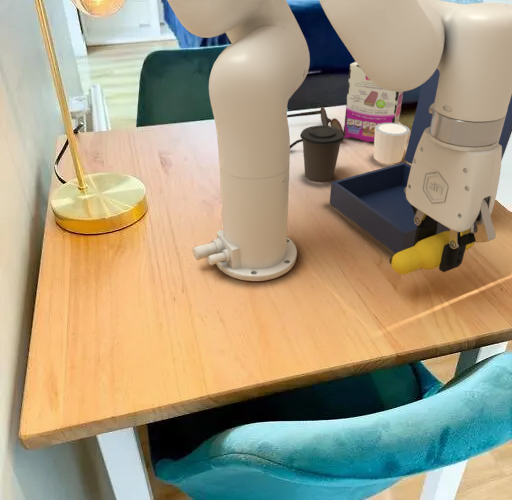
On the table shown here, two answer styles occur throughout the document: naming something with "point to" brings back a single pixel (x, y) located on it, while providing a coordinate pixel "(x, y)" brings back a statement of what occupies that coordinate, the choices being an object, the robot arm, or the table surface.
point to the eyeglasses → (324, 119)
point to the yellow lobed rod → (422, 254)
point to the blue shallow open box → (380, 205)
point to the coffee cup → (321, 152)
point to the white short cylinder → (390, 142)
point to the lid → (424, 118)
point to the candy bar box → (368, 106)
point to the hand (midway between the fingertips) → (435, 257)
